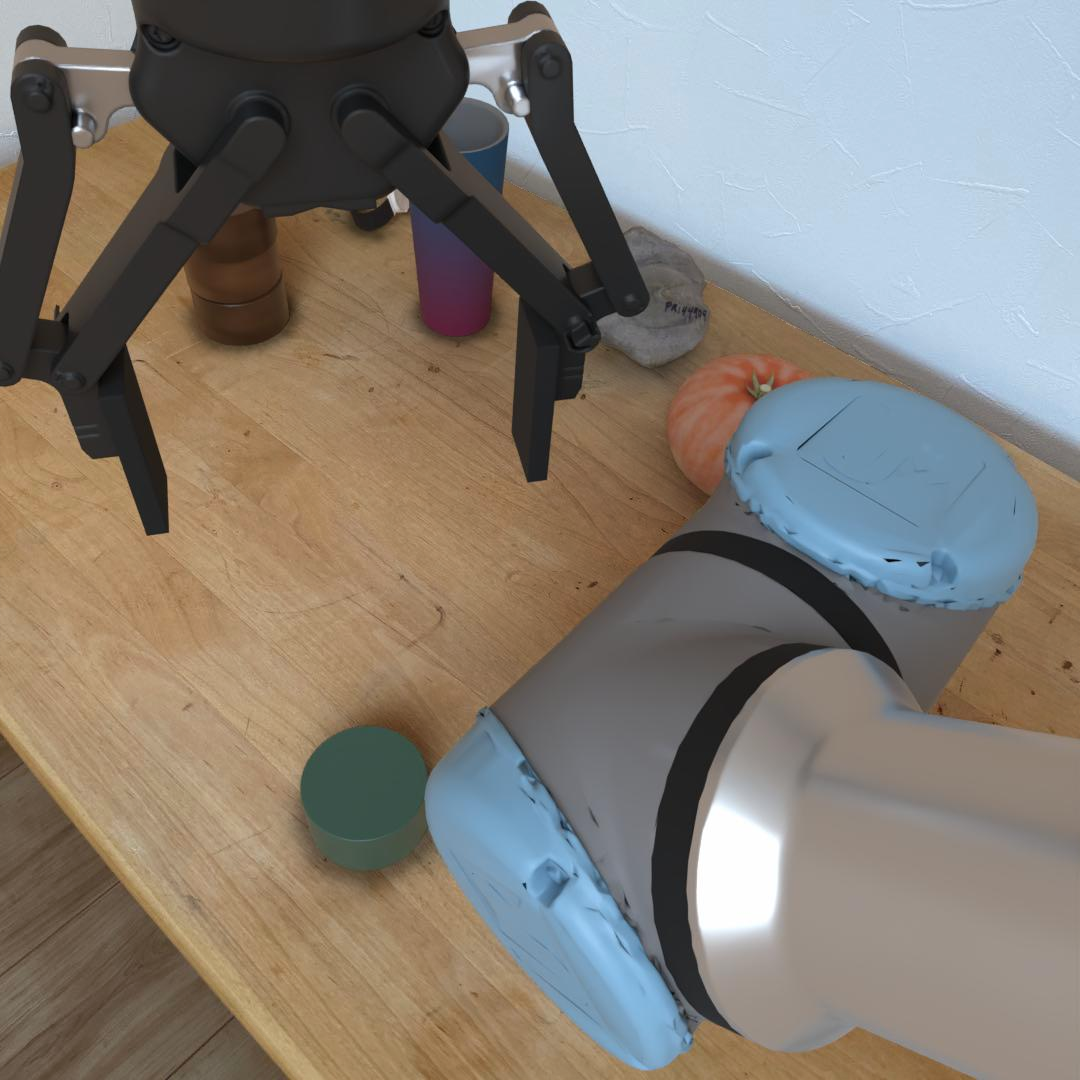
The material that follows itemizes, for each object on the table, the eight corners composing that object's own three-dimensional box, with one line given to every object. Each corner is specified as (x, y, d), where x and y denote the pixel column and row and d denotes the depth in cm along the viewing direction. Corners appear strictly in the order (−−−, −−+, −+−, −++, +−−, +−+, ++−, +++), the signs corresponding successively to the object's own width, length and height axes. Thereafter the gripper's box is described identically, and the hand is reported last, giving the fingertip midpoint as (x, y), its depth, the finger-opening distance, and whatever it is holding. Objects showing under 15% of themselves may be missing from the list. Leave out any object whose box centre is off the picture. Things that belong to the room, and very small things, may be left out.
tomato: (836, 538, 66) (875, 449, 60) (665, 533, 66) (686, 442, 60) (807, 417, 73) (840, 326, 67) (652, 411, 73) (670, 319, 67)
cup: (435, 355, 75) (430, 163, 64) (393, 301, 79) (381, 109, 67) (518, 328, 78) (529, 137, 66) (474, 276, 81) (477, 87, 70)
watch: (409, 141, 85) (433, 179, 87) (364, 157, 87) (388, 193, 90) (377, 201, 81) (402, 238, 83) (330, 215, 83) (356, 252, 86)
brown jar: (307, 300, 78) (289, 172, 70) (264, 356, 74) (240, 226, 66) (224, 278, 79) (197, 149, 71) (177, 332, 75) (143, 201, 67)
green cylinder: (447, 780, 55) (446, 747, 52) (401, 888, 51) (398, 858, 48) (339, 744, 55) (333, 710, 53) (287, 848, 52) (277, 816, 49)
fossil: (619, 408, 73) (634, 315, 67) (534, 338, 77) (541, 245, 71) (730, 344, 78) (753, 252, 72) (644, 282, 82) (659, 190, 76)
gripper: (752, -247, 27) (641, 372, 44) (-342, -246, 23) (-6, 451, 39) (877, -137, 23) (701, 508, 39) (-459, -106, 18) (-23, 616, 34)
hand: (349, 480), depth 39 cm, fingers open, 13 cm apart
